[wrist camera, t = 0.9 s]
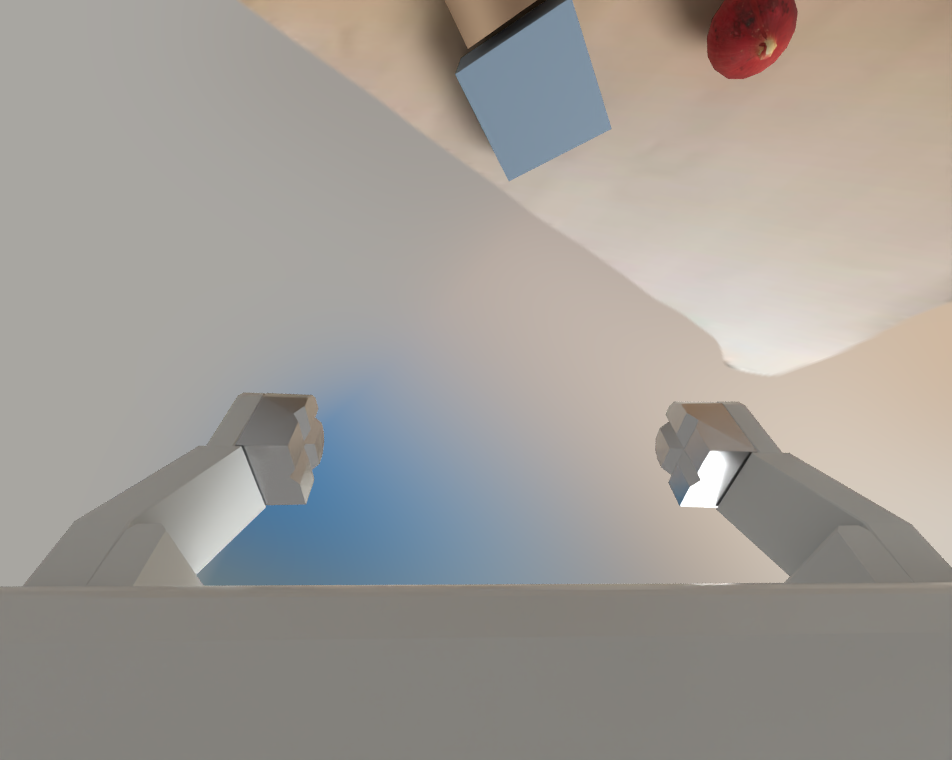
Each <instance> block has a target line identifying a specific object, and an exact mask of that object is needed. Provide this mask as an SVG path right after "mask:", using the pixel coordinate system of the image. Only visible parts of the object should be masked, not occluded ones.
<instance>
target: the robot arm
mask: <svg viewBox="0 0 952 760" xmlns="http://www.w3.org/2000/svg"><path fill="white" fill-rule="evenodd" d="M317 411H318V405H317V402H316V398H315V397H314V396H313V395H299V394H276V393H266V394H264V393H242V394H240V395H238V397H237V398H236V400H235V401H234V403H233V404H232V406H231V408H230V409H229V411H228V412H227V414H226V415H225V417H224V419H223V420H222V422H221V423H220V425H219V426H218V428H217V430H216V431H215V433H214V434H213V436H212V438H211V439H210V441H209V442H208V444H207V446H198V447H196V448H195V449H193V450H191V451H190V452H188V453H187V454H185V455H183V456H181V457H180V458H178V459H176V460H175V461H173V462H171V463H170V464H168V465H166V466H165V467H163V468H162V469H160V470H158V471H157V472H155V473H153V474H152V475H150V476H149V477H147V478H145V479H144V480H142V481H140V482H138V483H137V484H135V485H134V486H132V487H130V488H129V489H127V490H125V491H124V492H122V493H120V494H119V495H117V496H115V497H114V498H112V499H111V500H109V501H107V502H105V503H104V504H102V505H101V506H99V507H97V508H96V509H94V510H92V511H91V512H89V513H87V514H86V515H84V516H82V517H81V518H79V519H77V520H76V521H74V523H73V524H72V525H71V527H70V528H69V529H68V530H67V531H66V533H65V534H64V535H63V536H62V538H61V539H60V540H59V541H58V543H57V544H56V545H55V547H54V548H53V549H52V550H51V551H50V553H49V554H48V555H47V556H46V558H45V559H44V560H43V561H42V563H41V564H40V565H39V566H38V568H37V569H36V570H35V571H34V573H33V574H32V575H31V576H30V578H29V579H28V580H27V581H26V583H25V584H24V585H23V586H22V587H0V760H952V567H951V566H950V565H949V564H948V563H947V562H946V561H945V560H944V559H943V558H942V557H941V556H940V555H939V554H938V553H937V551H936V550H935V549H934V548H933V547H932V546H931V545H930V544H929V543H928V542H927V541H926V539H924V537H923V536H922V535H921V534H920V533H919V532H918V531H917V530H916V529H915V528H914V527H913V525H912V524H910V523H908V522H906V521H905V520H903V519H901V518H900V517H898V516H896V515H895V514H893V513H891V512H889V511H888V510H886V509H884V508H883V507H881V506H879V505H877V504H876V503H874V502H872V501H871V500H869V499H867V498H865V497H864V496H862V495H860V494H858V493H857V492H855V491H853V490H852V489H850V488H848V487H847V486H845V485H843V484H841V483H840V482H838V481H836V480H835V479H833V478H831V477H829V476H828V475H826V474H824V473H823V472H821V471H819V470H817V469H816V468H814V467H812V466H810V465H809V464H807V463H805V462H804V461H802V460H800V459H799V458H797V457H795V456H793V455H792V454H790V453H782V452H781V450H780V449H779V448H778V447H777V445H776V444H775V443H774V442H773V440H772V439H771V438H770V436H769V435H768V434H767V433H766V431H765V430H764V429H763V428H762V427H761V425H760V424H759V422H758V421H757V420H756V419H755V418H754V416H753V415H752V414H751V412H750V411H749V410H748V409H747V407H746V406H745V405H743V404H742V403H740V402H673V403H672V404H671V405H670V406H669V409H668V411H667V413H666V416H667V418H668V420H669V422H668V423H667V424H665V425H664V426H662V427H661V428H660V429H659V432H658V434H657V437H656V448H655V450H656V454H657V459H658V461H659V463H660V466H661V467H662V468H663V469H664V470H666V471H667V472H668V473H669V474H671V477H670V480H669V485H670V487H671V489H672V491H673V493H674V495H675V497H676V499H677V501H678V504H679V506H688V507H717V508H716V509H717V510H718V511H719V512H720V513H721V514H722V515H723V516H724V517H725V518H726V519H727V520H729V521H730V522H731V523H732V524H733V525H734V526H735V527H736V528H737V529H738V530H740V531H741V532H742V533H743V534H744V535H745V536H746V537H747V538H748V539H749V540H751V541H752V542H753V543H754V544H755V545H756V546H757V547H758V548H759V549H760V550H762V551H763V552H764V553H765V554H766V555H767V556H768V557H769V558H770V559H771V560H773V561H774V562H775V563H776V564H777V565H778V566H779V567H780V568H782V569H783V570H784V571H785V572H786V573H787V574H788V575H789V576H790V577H789V578H788V579H787V580H786V581H785V582H784V583H701V584H698V583H695V584H694V583H693V584H692V583H690V584H517V585H516V584H510V585H509V584H506V585H504V584H503V585H502V584H496V585H301V586H300V585H284V586H283V585H277V586H276V585H275V586H273V585H271V586H204V585H203V584H202V582H201V581H200V580H199V578H198V577H197V575H196V574H197V573H198V572H199V571H200V570H201V569H202V568H203V567H205V566H206V565H207V564H208V563H209V562H210V561H211V560H212V559H213V558H214V557H215V556H216V555H217V554H218V553H219V552H220V551H221V550H222V549H223V548H224V547H225V546H226V545H227V544H228V543H229V542H230V541H231V540H232V539H233V538H234V537H236V536H237V535H238V534H239V533H240V532H241V531H242V530H243V529H244V528H245V527H246V526H247V525H248V524H249V523H250V522H251V521H252V520H253V519H254V518H255V517H256V516H257V515H258V514H259V513H260V512H261V511H262V510H263V509H264V508H265V507H266V506H265V505H293V504H306V503H307V500H308V497H309V494H310V491H311V488H312V485H313V482H314V477H313V473H312V469H313V468H315V467H316V466H317V465H318V464H320V460H321V457H322V454H323V446H324V431H323V427H322V423H321V422H320V421H318V420H317V419H316V418H315V417H316V414H317Z"/></svg>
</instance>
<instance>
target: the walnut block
mask: <svg viewBox="0 0 952 760" xmlns="http://www.w3.org/2000/svg"><path fill="white" fill-rule="evenodd" d="M444 1H445V3H446V5H447V7H448V9H449V11H450V13H451V15H452V17H453V19H454V21H455V23H456V25H457V27H458V29H459V32H460V34H461V36H462V38H463V40H464V42H465V44H466V46H467V48H468V49H469V48H470V47H472V46H473V45H474V44H476V43H477V42H479V41H480V40H481V39H483V38H484V37H486V36H487V35H489V34H490V33H491V32H493V31H494V30H496V29H497V28H498V27H500V26H501V25H503V24H504V23H505V22H507V21H508V20H510V19H511V18H513V17H514V16H515V15H517V14H518V13H520V12H521V11H522V10H524V9H525V8H527V7H528V6H529V5H531V4H532V3H534V2H535V1H537V0H444Z"/></svg>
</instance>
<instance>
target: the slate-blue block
mask: <svg viewBox="0 0 952 760" xmlns="http://www.w3.org/2000/svg"><path fill="white" fill-rule="evenodd" d="M455 75H456V77H457V79H458V81H459V83H460V85H461V87H462V89H463V91H464V93H465V95H466V97H467V99H468V101H469V103H470V105H471V107H472V109H473V111H474V113H475V115H476V117H477V119H478V121H479V123H480V125H481V127H482V129H483V131H484V133H485V135H486V137H487V139H488V141H489V143H490V145H491V147H492V149H493V151H494V152H495V154H496V156H497V158H498V160H499V162H500V164H501V166H502V168H503V170H504V172H505V174H506V176H507V178H508V180H509V181H510V180H512V179H514V178H516V177H518V176H520V175H522V174H524V173H526V172H528V171H530V170H532V169H534V168H536V167H538V166H540V165H542V164H544V163H546V162H548V161H549V160H551V159H553V158H555V157H557V156H559V155H561V154H563V153H565V152H567V151H569V150H571V149H573V148H575V147H577V146H579V145H581V144H583V143H585V142H587V141H589V140H591V139H593V138H594V137H596V136H598V135H600V134H602V133H604V132H606V131H608V130H610V129H611V125H610V122H609V119H608V116H607V112H606V109H605V106H604V103H603V99H602V96H601V93H600V90H599V86H598V83H597V80H596V77H595V73H594V70H593V67H592V64H591V60H590V57H589V54H588V51H587V47H586V44H585V41H584V38H583V34H582V31H581V28H580V24H579V21H578V18H577V15H576V11H575V8H574V5H573V2H572V0H546V1H544V2H543V3H542V4H540V5H539V6H537V7H536V8H534V9H533V10H531V11H530V12H528V13H527V14H525V15H524V16H522V17H521V18H519V19H518V20H516V21H515V22H514V23H512V24H511V25H509V26H508V27H506V28H505V29H503V30H502V31H500V32H499V33H497V34H496V35H494V36H493V37H491V38H490V39H488V40H487V41H486V42H484V43H483V44H481V45H480V46H478V47H477V48H475V49H474V50H472V51H471V52H469V53H468V54H466V55H465V56H463V57H462V58H461V59H460V62H459V65H458V68H457V71H456V73H455Z"/></svg>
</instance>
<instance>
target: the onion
mask: <svg viewBox="0 0 952 760" xmlns="http://www.w3.org/2000/svg"><path fill="white" fill-rule="evenodd" d="M796 20H797V8H796V4H795V1H794V0H724V2H723V3H722V5H721V6H720V8H719V9H718V11H717V12H716V14H715V15H714V17H713V18H712V21H711V25H710V29H709V32H708V36H707V53H708V58H709V60H710V62H711V64H712V66H713V68H714V69H715V70H716V71H717V72H719V73H720V74H722V75H723V76H725V77H726V78H728V79H744V78H747V77H750V76H752V75H755V74H758V73H760V72H762V71H763V70H764V69H766V68H767V67H769V66H770V65H771V64H773V63H774V62H775V61H776V60H777V59H778V57H779V56H780V55H781V54H782V52H783V51H784V50H785V49H786V48H787V46H788V44H789V42H790V39H791V37H792V35H793V33H794V31H795V28H796Z"/></svg>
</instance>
